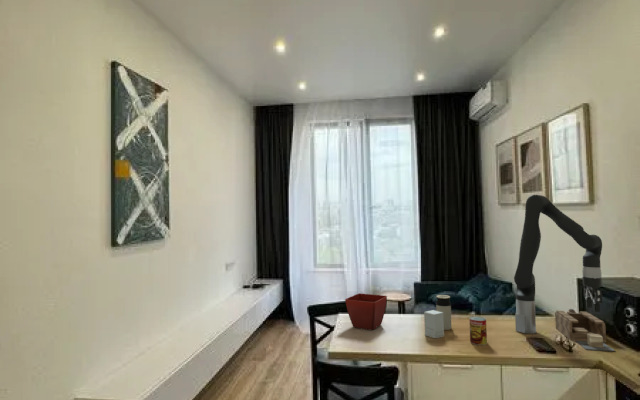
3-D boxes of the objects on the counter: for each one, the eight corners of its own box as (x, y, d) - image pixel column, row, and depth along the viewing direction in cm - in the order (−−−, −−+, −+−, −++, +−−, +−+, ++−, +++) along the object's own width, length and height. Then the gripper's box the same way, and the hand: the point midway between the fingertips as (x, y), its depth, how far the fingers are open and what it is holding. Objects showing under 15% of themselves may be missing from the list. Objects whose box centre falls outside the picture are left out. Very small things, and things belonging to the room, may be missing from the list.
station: (620, 352, 178) (619, 330, 178) (581, 349, 182) (580, 328, 182) (588, 330, 211) (587, 311, 212) (555, 328, 215) (555, 310, 216)
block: (603, 347, 183) (602, 336, 183) (591, 346, 184) (590, 336, 185) (599, 344, 187) (598, 334, 187) (587, 344, 188) (587, 333, 188)
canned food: (467, 342, 195) (466, 318, 196) (475, 338, 200) (474, 315, 201) (481, 346, 189) (480, 321, 190) (490, 342, 194) (489, 318, 194)
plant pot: (344, 328, 223) (344, 298, 224) (359, 320, 239) (358, 293, 240) (375, 333, 213) (374, 302, 214) (388, 324, 229) (387, 295, 230)
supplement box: (444, 336, 205) (443, 312, 206) (434, 338, 201) (434, 314, 202) (434, 332, 211) (433, 309, 212) (424, 335, 208) (423, 311, 208)
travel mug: (453, 330, 216) (452, 297, 217) (439, 330, 216) (438, 297, 217) (449, 325, 224) (448, 294, 225) (435, 326, 224) (434, 294, 225)
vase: (581, 326, 218) (581, 311, 218) (568, 326, 219) (567, 310, 220) (576, 323, 225) (575, 308, 225) (563, 322, 226) (562, 307, 226)
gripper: (577, 273, 195) (578, 305, 194) (589, 278, 181) (590, 313, 180) (594, 273, 193) (595, 306, 192) (607, 278, 179) (609, 313, 179)
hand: (593, 309), depth 186 cm, fingers open, 8 cm apart
